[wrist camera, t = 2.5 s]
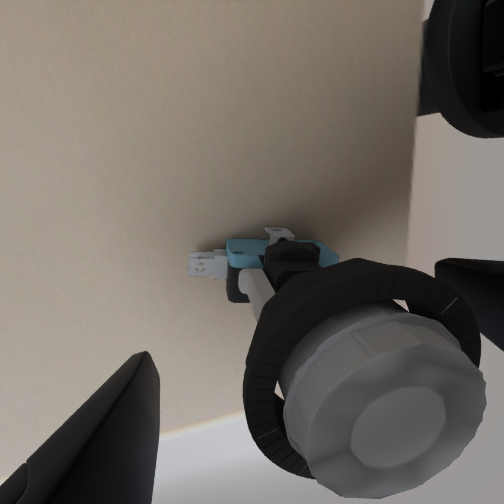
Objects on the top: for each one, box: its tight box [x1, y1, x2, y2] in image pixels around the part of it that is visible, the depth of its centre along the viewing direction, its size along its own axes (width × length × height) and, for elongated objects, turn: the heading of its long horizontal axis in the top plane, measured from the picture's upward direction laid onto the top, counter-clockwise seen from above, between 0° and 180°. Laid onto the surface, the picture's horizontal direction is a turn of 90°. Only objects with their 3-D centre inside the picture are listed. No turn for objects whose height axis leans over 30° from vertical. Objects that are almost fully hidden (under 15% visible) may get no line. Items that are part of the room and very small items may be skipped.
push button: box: [189, 227, 487, 499], centre depth 10 cm, size 7×5×10 cm
